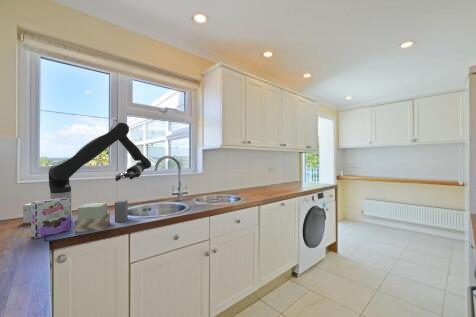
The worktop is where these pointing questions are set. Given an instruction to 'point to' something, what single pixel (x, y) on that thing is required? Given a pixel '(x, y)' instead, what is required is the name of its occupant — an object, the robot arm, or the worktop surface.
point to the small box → (27, 213)
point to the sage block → (92, 211)
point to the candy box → (50, 217)
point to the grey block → (121, 211)
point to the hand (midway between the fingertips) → (123, 178)
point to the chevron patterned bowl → (92, 224)
